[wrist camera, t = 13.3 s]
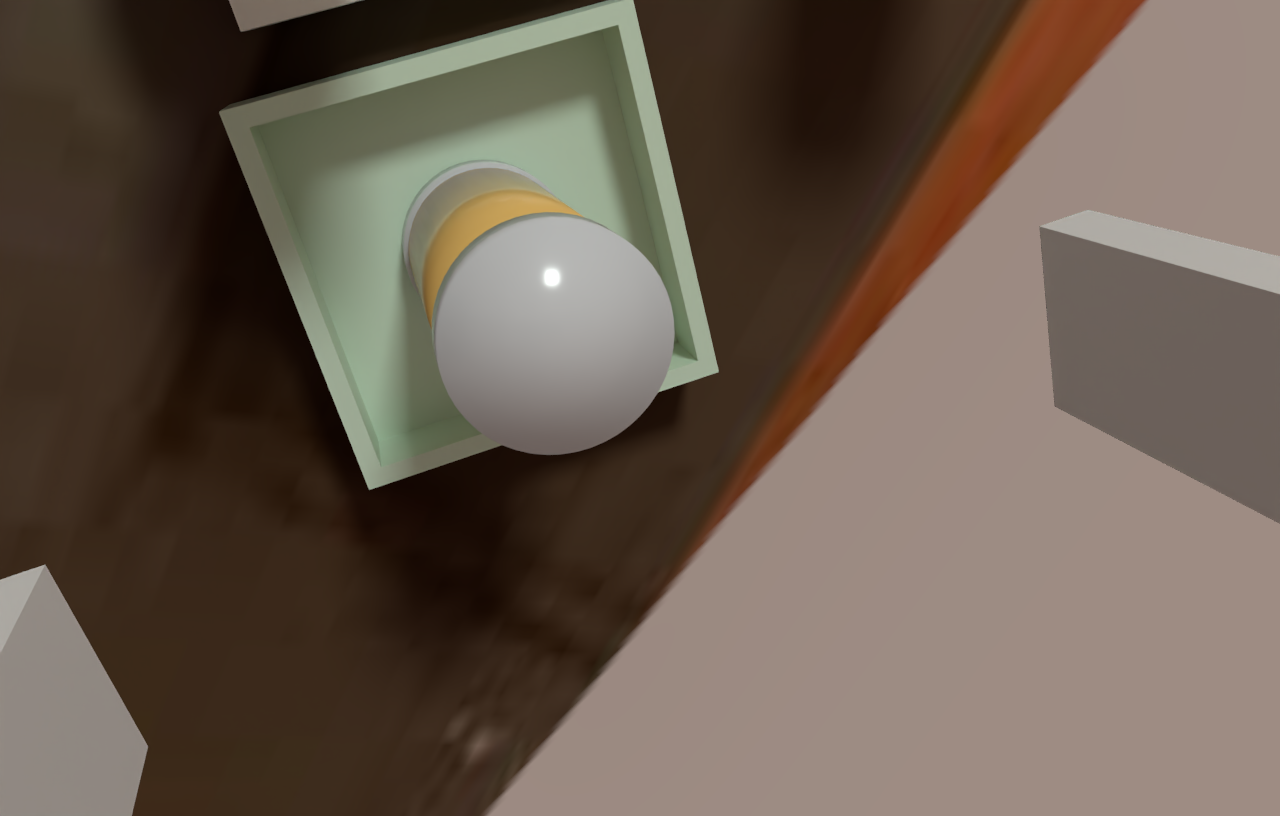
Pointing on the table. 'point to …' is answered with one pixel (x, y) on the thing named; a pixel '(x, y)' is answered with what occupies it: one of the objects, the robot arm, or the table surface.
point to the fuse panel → (278, 10)
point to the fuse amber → (534, 310)
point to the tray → (413, 154)
